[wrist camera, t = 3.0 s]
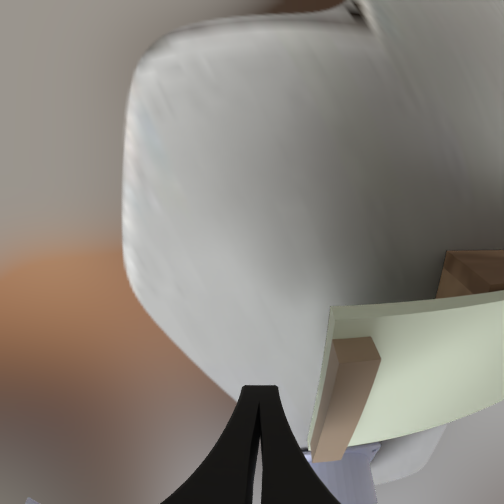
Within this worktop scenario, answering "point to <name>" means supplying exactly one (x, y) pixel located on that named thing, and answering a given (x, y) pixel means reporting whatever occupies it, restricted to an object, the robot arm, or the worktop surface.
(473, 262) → the pencil box
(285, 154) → the worktop surface
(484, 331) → the wood-edged cream panel
